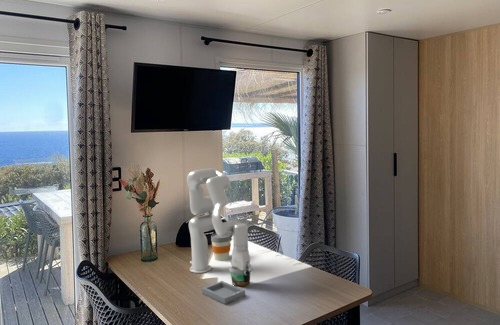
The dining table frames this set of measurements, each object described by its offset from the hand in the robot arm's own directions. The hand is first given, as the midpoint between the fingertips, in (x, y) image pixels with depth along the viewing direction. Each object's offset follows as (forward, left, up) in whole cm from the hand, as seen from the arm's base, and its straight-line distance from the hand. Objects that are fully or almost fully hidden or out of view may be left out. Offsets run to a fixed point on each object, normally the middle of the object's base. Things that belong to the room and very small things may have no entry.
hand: (241, 279), depth 215 cm
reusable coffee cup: (-42, +20, -3) cm, 46 cm away
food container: (+1, 0, -3) cm, 3 cm away
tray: (+2, -14, -3) cm, 15 cm away
